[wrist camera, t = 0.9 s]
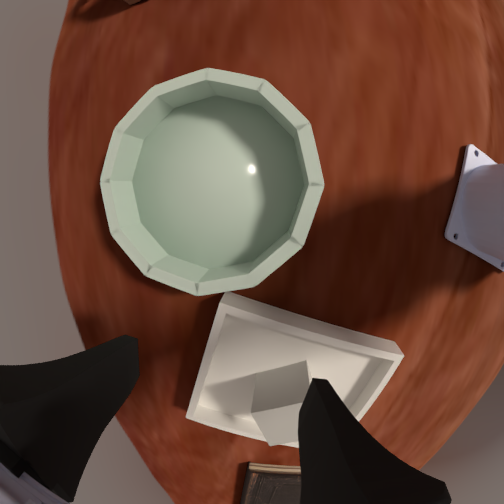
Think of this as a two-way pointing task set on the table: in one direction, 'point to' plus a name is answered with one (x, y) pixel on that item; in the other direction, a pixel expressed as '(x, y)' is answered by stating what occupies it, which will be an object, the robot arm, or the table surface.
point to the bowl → (211, 181)
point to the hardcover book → (271, 484)
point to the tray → (282, 362)
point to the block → (280, 401)
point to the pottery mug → (132, 1)
